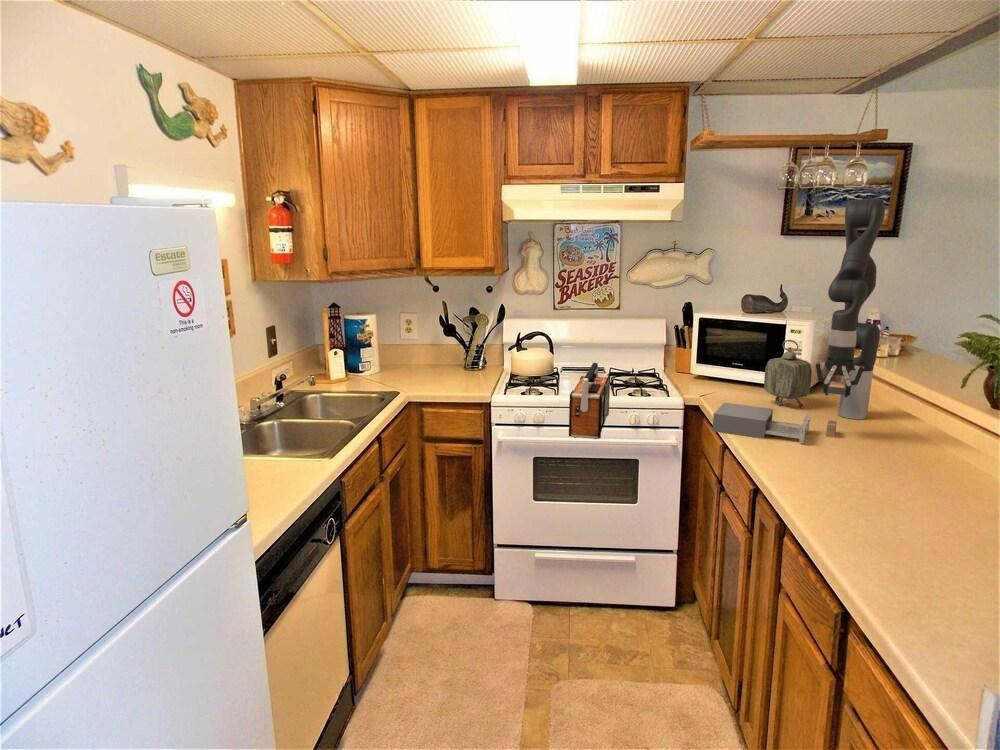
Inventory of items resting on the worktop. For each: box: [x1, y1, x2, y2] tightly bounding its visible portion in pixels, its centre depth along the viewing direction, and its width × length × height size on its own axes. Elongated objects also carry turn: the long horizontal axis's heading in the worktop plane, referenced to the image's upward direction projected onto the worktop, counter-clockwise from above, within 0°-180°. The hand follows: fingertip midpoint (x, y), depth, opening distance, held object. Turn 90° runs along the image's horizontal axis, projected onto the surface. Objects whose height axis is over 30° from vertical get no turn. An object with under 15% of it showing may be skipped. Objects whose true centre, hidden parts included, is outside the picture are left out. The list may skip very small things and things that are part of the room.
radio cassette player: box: [568, 361, 611, 440], centre depth 214 cm, size 29×10×20 cm, turn 165°
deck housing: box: [711, 402, 774, 440], centre depth 215 cm, size 16×16×6 cm
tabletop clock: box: [763, 339, 813, 409], centre depth 241 cm, size 14×9×25 cm, turn 26°
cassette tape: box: [827, 380, 847, 396], centre depth 206 cm, size 8×5×2 cm, turn 150°
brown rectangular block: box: [825, 419, 838, 438], centre depth 209 cm, size 6×2×4 cm, turn 149°
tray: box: [765, 414, 811, 444], centre depth 209 cm, size 16×16×5 cm
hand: (836, 395), depth 206 cm, fingers closed on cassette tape, 5 cm apart
